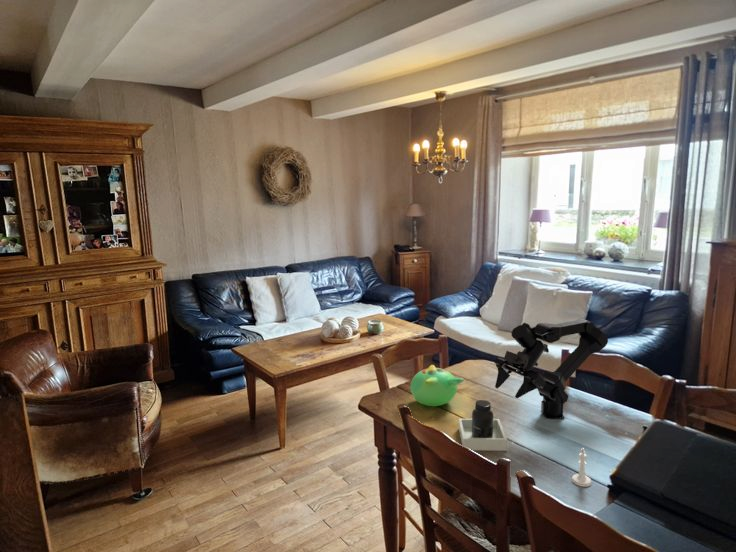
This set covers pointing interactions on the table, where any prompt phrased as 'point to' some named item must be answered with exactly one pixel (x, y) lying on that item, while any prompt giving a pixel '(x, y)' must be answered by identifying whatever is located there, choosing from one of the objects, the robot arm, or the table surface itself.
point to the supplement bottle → (482, 420)
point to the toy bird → (434, 386)
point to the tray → (483, 443)
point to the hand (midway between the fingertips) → (505, 392)
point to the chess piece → (582, 472)
